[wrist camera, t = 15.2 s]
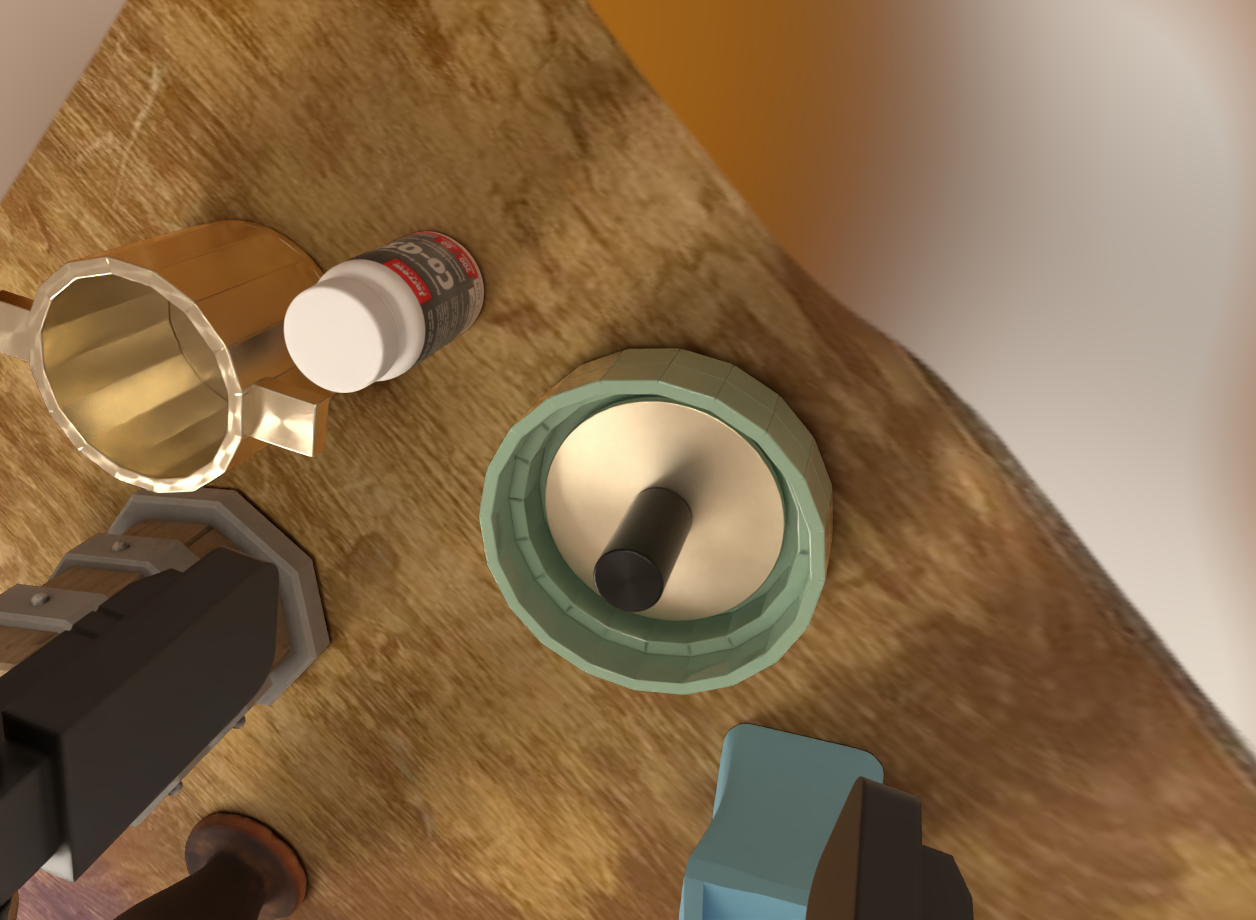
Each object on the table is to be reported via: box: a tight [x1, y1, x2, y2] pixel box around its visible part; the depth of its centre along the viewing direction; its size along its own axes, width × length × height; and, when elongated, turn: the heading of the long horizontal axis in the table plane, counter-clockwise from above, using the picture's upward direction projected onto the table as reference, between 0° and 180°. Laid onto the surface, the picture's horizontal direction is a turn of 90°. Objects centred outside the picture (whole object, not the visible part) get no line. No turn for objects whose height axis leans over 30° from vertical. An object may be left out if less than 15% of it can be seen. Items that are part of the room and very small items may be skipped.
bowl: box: [479, 348, 833, 695], centre depth 41 cm, size 14×14×4 cm
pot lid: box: [545, 397, 786, 621], centre depth 39 cm, size 11×11×7 cm
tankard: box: [0, 488, 330, 826], centre depth 47 cm, size 20×13×15 cm, turn 93°
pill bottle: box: [284, 231, 484, 393], centre depth 38 cm, size 5×5×8 cm
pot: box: [0, 220, 336, 493], centre depth 41 cm, size 10×15×8 cm, turn 78°
